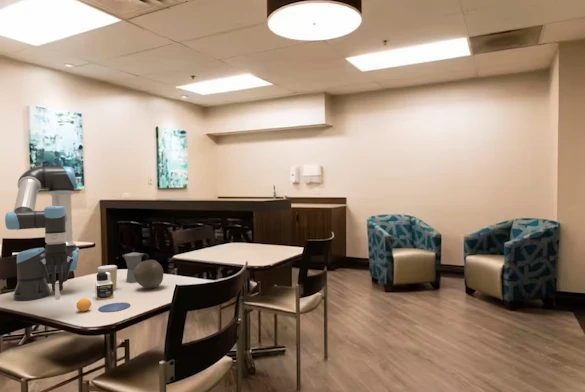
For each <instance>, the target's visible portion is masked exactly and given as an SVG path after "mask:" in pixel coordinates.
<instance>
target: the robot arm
mask: <svg viewBox="0 0 585 392" xmlns="http://www.w3.org/2000/svg"><path fill="white" fill-rule="evenodd" d="M76 179H77V178H76V173H75V169H74V168H73V167H72V166H64V165H63V166H61V165H60V166H57V165H55V166H40V165H39V166H35V167H31V168H30V169H28V170H26V171H25V172H23V173H22V174H21V175H20V176H19V178H18V180H17V185H16V186H17V189H18V192H17V194H16V195H17V196H16V199H15V204H14V208H13V210H12V211H8V212H6V213H5V217H4V219H5V220H4V221H5V222H4V223H5V228H6V229H7V230H10V231H11V230H12V231H13V230H16V231H18V230H29V229H31V230H32V229H44V231H45V232H44V242H45V243H46V244H45V248H44V247H35V248H30V249H27V250H23V251H20V252H18V253H17V254H16V274H17V278H16V279H17V284H16V287H15V289H14V293H13V299H14V300H15V301H21V302H22V301H32V300H37V299H38V300H39V299H42V298H45V297H48V296H50V295H51V292H53V293H55V294H54V295H55V296H54V299H55V301H57V300H60V299H61V292H62V291H63V290H64V285H63V284H64V283H65V282H68V279H69V275H70V272H73V271H76V270H77V268H78V265H79V256H80V248H79V247H77V244H76V243H75V242H74V241H73V222H72V221H73V219H72V218H73V214H72V195H73V194H74V193H75V190H76V189H78V185H77V180H76ZM40 190H47V193H48V194H49V195H50V196H51V206H45V207H44V210H36V204H37V197H38V192H39V191H40ZM63 273H64V274H63ZM56 274H58V282H57V278H56V277H57V276H56ZM50 275H51V276H50ZM49 284H51V288H50V285H49Z"/></svg>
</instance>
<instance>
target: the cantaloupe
mask: <svg viewBox="0 0 585 392" xmlns="http://www.w3.org/2000/svg"><path fill="white" fill-rule="evenodd" d="M145 260H146V259H145ZM145 260H143V261H142V260H141V262H140V263H139V264H138V265H137V266H136V268H135V270H134V277H135V279H136V281H137V282H136V283H138V285H140V286H141V287H142V288H145V289H150V290H151V289H155V288H157V287H159V286H160V285H161V283H163V280H164V269H163V267H162V265H161V264H160V263H159V262H158V261H157V260H155V259H149V260H146V261H145Z"/></svg>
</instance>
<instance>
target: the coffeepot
mask: <svg viewBox="0 0 585 392" xmlns="http://www.w3.org/2000/svg"><path fill="white" fill-rule="evenodd" d="M121 256H122V257H123V258H124V260H125V262H126V263H125V264H126V267H127V272H126V281H125V282H126V283H128V284H131V283H132V284H134V283H137V281H136V279H135V277H134V270H135V268H136V266H137V265H138V264H139V263H140V262H142V258H143V257H145V260H144V261H146V260H150V255H149V254H148V253H147V252H144V253H142V252H141V253H140V252H136V249H135V248H133V249H131V252H130V253H125V254H122V255H121Z"/></svg>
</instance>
